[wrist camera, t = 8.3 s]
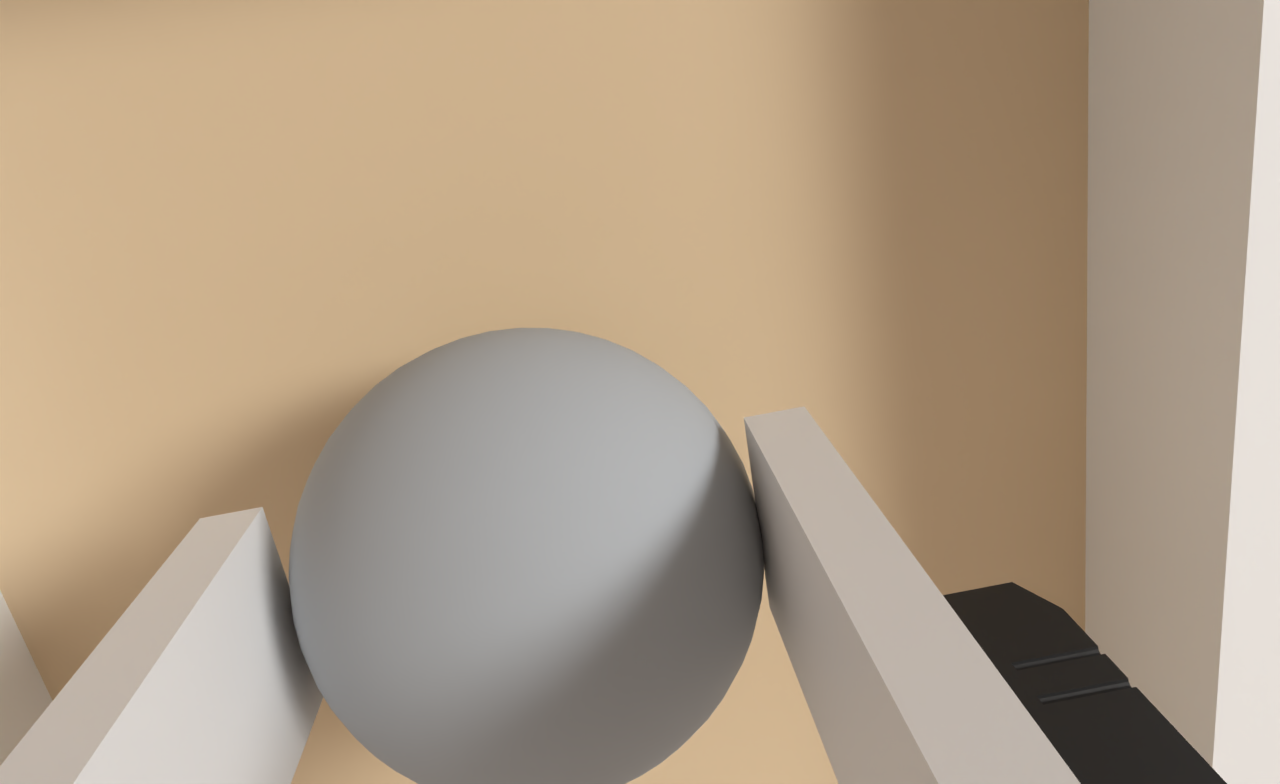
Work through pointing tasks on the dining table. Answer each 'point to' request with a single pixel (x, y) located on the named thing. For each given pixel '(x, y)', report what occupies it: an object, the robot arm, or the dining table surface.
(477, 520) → the ball
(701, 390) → the square serving dish
